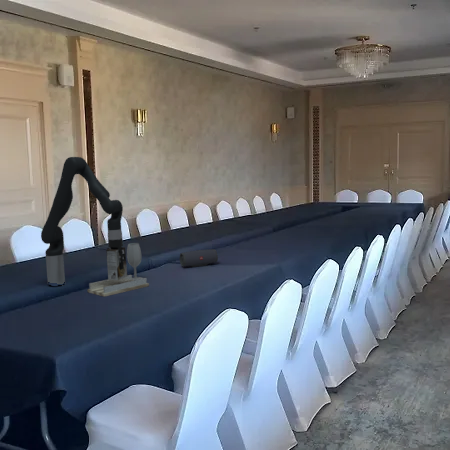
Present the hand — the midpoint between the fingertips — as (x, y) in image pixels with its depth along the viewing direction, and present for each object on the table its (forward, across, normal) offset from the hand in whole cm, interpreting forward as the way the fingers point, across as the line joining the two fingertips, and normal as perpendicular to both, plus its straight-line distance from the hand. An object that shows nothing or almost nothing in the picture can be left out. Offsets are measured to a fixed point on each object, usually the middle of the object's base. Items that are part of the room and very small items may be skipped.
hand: (117, 268), depth 295 cm
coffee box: (+6, 0, 0) cm, 6 cm away
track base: (+11, 0, 0) cm, 11 cm away
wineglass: (+11, -10, +18) cm, 24 cm away
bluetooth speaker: (+12, -11, +67) cm, 69 cm away
